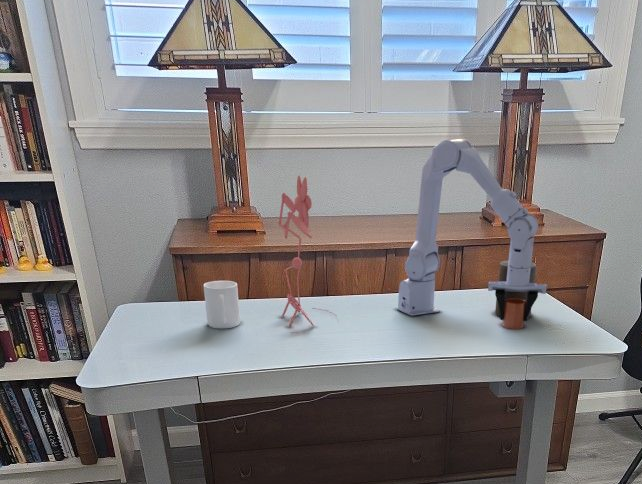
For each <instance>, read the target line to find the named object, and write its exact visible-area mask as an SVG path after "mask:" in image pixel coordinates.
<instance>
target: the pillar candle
mask: <svg viewBox="0 0 642 484" xmlns="http://www.w3.org/2000/svg"><path fill="white" fill-rule="evenodd" d="M508 261H509V260H503V261H500V263H499V270H498V279H497V282H500V281H507V271H508ZM536 273H537V264H536V263H534V262H532V263H531V271H530V279H529V283H535V281H536ZM510 298H516V299H522V300H525V301H526V302H527V292H515V291H505V300H506V299H510ZM505 300H504V304H505ZM494 314H495V315H496V316H497V317H499V318H501V315H500V308H499V304H498V301H497V298H496V297H495V310H494ZM531 315H532V309H531V310H530V312H529V315H528V318H530V317H531Z"/></svg>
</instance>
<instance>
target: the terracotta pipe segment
mask: <svg viewBox="0 0 642 484" xmlns="http://www.w3.org/2000/svg"><path fill="white" fill-rule="evenodd" d="M525 309H526V301H525V300H522V299H516V298H510V299H506V300H505V304H504V317H503V320H502V327H504V328H506V329H511V330H519V329H523V328H524V325H525V321H524V317H525Z"/></svg>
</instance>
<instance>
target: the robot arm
mask: <svg viewBox="0 0 642 484" xmlns="http://www.w3.org/2000/svg"><path fill="white" fill-rule="evenodd" d="M424 163H425V164H424V165H423V167H422V170H421V180H420V187H419V188H420V190H419V201H418V208H417V220H416V228H415V229H416V231H415V240H414V242H413V243H412V245H411V247H410V248H409V250H408V251H409V252H408V253H409V254H408V256H407V258H406V260H405V261H404V262H405V263H404V271H405V274H406V275H407V277H408V278H407V279H403V280H401V281H400V282H399V285H398V303H397V304H398V305H397V307H396V310H398V311H400V312H402V313H405V314H407V315H408V316H411V317H412V316H419V315H428V314H433V313H440V311H441V310H440V309H439V308H436V307H435V291H436V290H435V288H436V272H437V271H438V269H440V265H441V259H440V255H439V245H438V244H437V241H436V240H437V231H438V223H439V215H440V214H439V213H440V205H441V204H440V203H441V197H442V189H443V180H444V178H445V177H446V176H448V175H450V173H451V172H453V171H454V170H455V171H456V172H460V173H466V174H469V175H470V176H471V177H472V178H473V179H474V180H475V182H476V183H477V184H478V185H479V187H480V188H481V189H482V190H483V191H484V192H485V193H486V194H487V196H489V198H490V207H491V209H492V210H493V211H494V212H495V214H496V215H497V216H498V218H499V219H500V221H502V223H503V224H504V225H505V227H507V234H508V237H509V238H510V243H509V244H510V245H509V253H508V260H507V261H508V271H507V281H500V282H498V281H488V287H487V291H488V292H493V291H495V293H494V295H495V299H496V298H497V301H498V304H499V308H500V315H501V317H500V320H501V321H503V317H504V300H505V291H515V292H527V302H526V309H525V317H524V322H527V321H528V318H529V317H528V315H529V312H530V310H531V311H532V308H533V306H534V304H535V303H536V301H537V299H538V296H539V294H542V295H546V294H547V287H548V286H547V284H545V283H535V282H534V283H529V279H530V271H531V263H533V262H532V261H533V254H534V253H533V252H534V240H535V237H534V236H536V234H537V233H538V231H539V221H538V220H537V217H536V215H534V214H532V213H529V210H528V208H524V206H523V205H522V204H521V203H520V201H519V200H518V199H517V196H518V194H517V193H516V192H515V191H511V190H510V189H509V188H502V186H501V185H500V184H499V182H498V181H497V180H496V178H495V176H494V175H493V173H492V172H491V171H490V169H489V168H488V166H487V165H486V163H485V162H484V161H483V159H482V158H481V156H480V154H479V151H478V150H477V149H476V148H475V147H473V146H472V144H471V142H470V141H469V140H468V139H466V138H457V139H451V140H450V139H445V140H442V141H441V142H439V143H437V144H436V145H435V146H433V148H432V152H431V154H430V156H429V157H428V159H427V160H426V161H425V162H424Z"/></svg>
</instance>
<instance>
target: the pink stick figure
mask: <svg viewBox="0 0 642 484" xmlns="http://www.w3.org/2000/svg"><path fill="white" fill-rule="evenodd" d="M307 179H308V178H307V177H306V176H305V177H304V178H303V179H302V178H301V175H297V180H296V194H297V196H295V198H294V201H293V200H292V199H291V198H290V197H289V196H288V195H287V194H286V193H285V192H282V194H281V205H280V210H279V218H278V227H279V228H280V227H281V228H282V229H283V234H284V238H285V239H288V235H289V233H290V234H292V235H293V236H294V237H296V238H297V239H298V250H297V257H294V258H293V259H292V260H291V266H288V267H287V268H285V269H284V272H285V273H284V274H285V276H286V281H287V286H288V291H289V293H288V294H287V295H286V298H287V303H286V305H285V307H284V310H283V312H282V314H281V317H282V318H284V317H285V315H286V312H287V310H288V308H289V306H290V305H291V307H292V308H293V309H294V310H295V311H294V312H293V315H292V317H291V319H290V322H289V324H288V327H289V328H291V327H292V325H293V322H294V320H295V318H296V315H297V314H298V313H301V314H302V315H303V316H304V317H305V318H306V320H307V321H308V322H309V323H310V325H311V326H313V327H314V326H315V325H314V323H313V322H312V320H311V319H310V317H309V316H308V315H307V313H306V312H305V310H303V308H302V305H301V301H300V300H301V299H300V298H301V297H300V284H299V276H300V271H301V268H302V266H303V260H302V259H301V258H300V254H301V245H302V238H301V236H300V235H299V234H297V233H295V232H294V231H293V230H291V229H290V228H289V227H290V220H291V221H292V223H293V224H294V225H295V226H296V227H297V228H298V230H300V232H301V233H303V234H304V235H305V236H306V237H308V238H310V239H312V238H313V237H312V234H311V231H310V230H309V228H310V227H309V225H310V216H309V215H310V214H309V211H310V209H312V206H313V205H312V204H313V203H312V199H311V197H310V195H309V194H308V180H307ZM284 205H285V207H286V208H287V209H289V210H290V211H287V219H286V221H285V223H284V224H282V218H283V211H284ZM296 212H297V213H298V216H297V215H295V213H296ZM292 268H294V269H296V270H297V274H296V286H297V296H298V297H297V299H296V297H295V296H294V295H293V294H292V289H291V285H290V280H289V276H288V271H289V270H291V269H292ZM311 309H312V310H317V308H315V307H311ZM318 310H319V311H324V312H327V313H331V314H333V315H334V316H336V314H335V313H334V312H331V311H330V310H328V309H321V308H318ZM338 322H339V320H337V323H338ZM293 333H294V334H298V331H290V334H293Z"/></svg>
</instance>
